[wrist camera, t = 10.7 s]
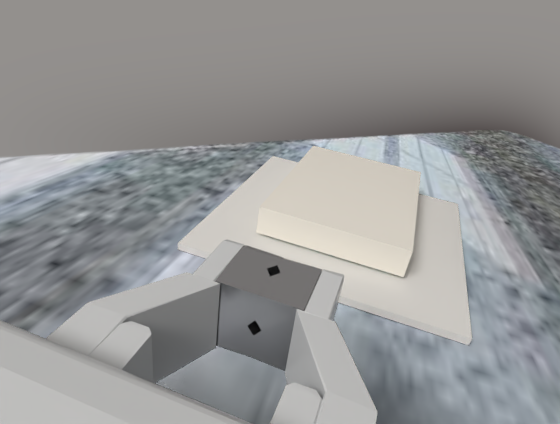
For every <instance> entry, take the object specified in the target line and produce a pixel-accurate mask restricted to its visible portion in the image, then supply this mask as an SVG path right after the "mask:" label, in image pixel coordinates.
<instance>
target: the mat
mask: <svg viewBox="0 0 560 424" xmlns="http://www.w3.org/2000/svg"><path fill="white" fill-rule="evenodd" d="M297 164H298V162H294V161H290V160H286V159H282V158H278V157H274V156H273V157H271V158H270V159H269V160H268V161H267V162H266V163H265V164H264V165H263V166H262V167H261V168H259V169H258V170H257V171H256V172H255V173H254V174H253V175H252V176H251V177H250V178H249V179H247V180H246V181H245V182H244V183H243V184H242V185H241V186H240V187H239V188H238V189H236V190H235V191H234V192H233V193H232V194H231V195H230V196H229V197H228V198H227V199H226V200H224V201H223V202H222V203H221V204H220V205H219V206H218V207H217V208H216V209H215V210H214V211H212V212H211V213H210V214H209V215H208V216H207V217H206V218H205V219H204V220H203V221H202V222H200V223H199V224H198V225H197V226H196V227H195V228H194V229H193V230H192V231H191V232H189V233H188V234H187V235H186V236H185V237H184V238H183V239H182V240H181V241H180V242H179V243H178V250H181V251H184V252H187V253H190V254H193V255H196V256H199V257H202V258H205V259H207V258H208V257H209V255H210V254H211V253H212V252H213V251H214V250H215V249H216V248H217V247H218V246H219V244H220V243H221V242H222V241H224V240H227V239H228V240H231V241H234V242H238V243H241V244H244V245H247V246H250V247H253V248H256V249H260V250H263V251H266V252H269V253H272V254H275V255H278V256H281V257H284V258H286V259H289V260H293V261H296V262H299V263H303V264H306V265H309V266H313V267H316V268H320V269H325V270H329V271H333V272H336V273H340V274H344V282H343V286H342V290H341V294H340V297H339V301H338V302H339V303H342V304H345V305H348V306H351V307H354V308H357V309H360V310H363V311H366V312H369V313H372V314H375V315H378V316H381V317H384V318H387V319H390V320H393V321H396V322H399V323H402V324H405V325H408V326H411V327H414V328H418V329H421V330H424V331H427V332H430V333H433V334H436V335H439V336H442V337H445V338H448V339H451V340H454V341H457V342H460V343H463V344H466V345H469V344H470V342H471V340H472V334H471V324H470V315H469V305H468V296H467V286H466V277H465V267H464V258H463V248H462V239H461V229H460V219H459V210H458V204H456V203H452V202H448V201H444V200H441V199H437V198H433V197H429V196H425V195H421V194H419V195H418V205H417V215H416V225H415V235H414V245H413V252H412V255H411V258H410V261H409V264H408V266H407V269H406V272H405V275H404V277H401V276H398V275H394V274H391V273H388V272H385V271H381V270H378V269H375V268H372V267H368V266H365V265H362V264H358V263H355V262H352V261H349V260H345V259H342V258H339V257H335V256H332V255H329V254H326V253H322V252H319V251H316V250H312V249H309V248H306V247H303V246H299V245H296V244H293V243H290V242H286V241H283V240H280V239H276V238H273V237H270V236H267V235H263V234H260V233H257V232H256V230H257V222H258V214H259V207H260V206H261V204H262V203H263V202H264V201H265V200H266V199H267V198H268V197H269V195H270V194H271V193H272V192H273V191H274V190H275V189H276V187H277V186H278V185H279V184H280V183H281V182H282V181H283V180H284V178H285V177H286V176H287V175H288V174H289V173H290V172H291V171H292V169H293V168H294V167H295V166H296V165H297Z"/></svg>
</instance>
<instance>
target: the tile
mask: <svg viewBox="0 0 560 424" xmlns="http://www.w3.org/2000/svg"><path fill="white" fill-rule="evenodd" d="M420 174H421V172H418V171H414V170H409V169H405V168H401V167H397V166H393V165H389V164H385V163H381V162H377V161H373V160H369V159H365V158H361V157H357V156H353V155H349V154H345V153H341V152H337V151H333V150H329V149H324V148H320V147H316V146H313V147H312V148H311V149H310V150H309V151H308V152H307V154H306V155H305V156H304V157H303V158H302V159H301V160H300V162H299V163H298V164H297V165H296V166H295V167H294V168H293V169H292V171H291V172H290V173H289V174H288V175H287V176H286V177H285V178H284V180H283V181H282V182H281V183H280V184H279V185H278V186H277V187H276V189H275V190H274V191H273V192H272V193H271V194H270V195H269V197H268V198H267V199H266V200H265V201H264V202H263V203H262V204H261V206H260V207H259V214H258V222H257V230H256V232H257V233H260V234H263V235H267V236H270V237H273V238H276V239H280V240H283V241H286V242H290V243H293V244H296V245H299V246H303V247H306V248H309V249H312V250H316V251H319V252H322V253H326V254H329V255H332V256H335V257H339V258H342V259H345V260H349V261H352V262H355V263H358V264H362V265H365V266H368V267H372V268H375V269H378V270H381V271H385V272H388V273H391V274H394V275H398V276H401V277H404V275H405V272H406V269H407V266H408V264H409V261H410V258H411V255H412V252H413V245H414V235H415V225H416V215H417V205H418V195H419V185H420Z"/></svg>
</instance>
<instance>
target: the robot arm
mask: <svg viewBox="0 0 560 424" xmlns="http://www.w3.org/2000/svg"><path fill="white" fill-rule="evenodd" d="M343 282H344V274H340V273H336V272H333V271H329V270H325V269H320V268H316V267H313V266H309V265H306V264H303V263H299V262H296V261H293V260H289V259H286V258H284V257H281V256H278V255H275V254H272V253H269V252H266V251H263V250H260V249H256V248H253V247H250V246H247V245H244V244H241V243H238V242H234V241H231V240H228V239H227V240H224V241H222V242H221V243H220V244H219V246H218V247H217V248H216V249H215V250H214V251H213V252H212V253H211V254H210V255H209V257H208V258H207V259H206V260H205V261H204V262H203V263H202V264H201V265H200V266H199V268H198V269H197V270H196V271H195V272H194V273H193V274H190V273H183V274H180V275H177V276H173V277H170V278H167V279H164V280H160V281H157V282H154V283H150V284H147V285H144V286H141V287H137V288H134V289H131V290H127V291H124V292H121V293H118V294H114V295H111V296H108V297H105V298H101V299H98V300H95V301H91V302H88V303H87V304H86V305H84V306H83V307H82V308H81V309H80V310H79V311H77V312H76V313H75V314H74V315H73V316H72V317H70V318H69V319H68V320H67V321H66V322H64V323H63V324H62V325H61V326H60V327H59V328H57V329H56V330H55V331H54V332H53V333H52V334H50V335H49V336H48V337H47V338H46V339H45V338H43V337H40V336H38V335H35V334H33V333H30V332H28V331H25V330H23V329H21V328H18V327H16V326H13V325H11V324H8V323H6V322H3V321H1V320H0V424H253V423H250V422H248V421H245V420H243V419H240V418H238V417H235V416H233V415H231V414H228V413H226V412H223V411H221V410H218V409H216V408H213V407H211V406H209V405H206V404H204V403H201V402H199V401H196V400H194V399H191V398H189V397H187V396H184V395H182V394H179V393H177V392H174V391H172V390H170V389H167V388H165V387H162V386H160V385H157V384H155V383H156V382H158V381H159V380H161V379H163V378H165V377H166V376H168V375H170V374H171V373H173V372H175V371H177V370H178V369H180V368H182V367H184V366H185V365H187V364H189V363H190V362H192V361H194V360H196V359H197V358H199V357H201V356H202V355H204V354H206V353H208V352H209V351H211V350H213V349H215V348H216V346H219V347H222V348H224V349H227V350H230V351H233V352H236V353H239V354H242V355H245V356H248V357H251V358H253V359H256V360H258V361H261V362H263V363H266V364H268V365H271V366H273V367H276V368H278V369H281V370H283V371H285V376H286V381H287V385H286V386H285V389H284V391H283V394H282V396H281V398H280V401H279V403H278V405H277V408H276V410H275V413H274V415H273V417H272V420H271V422H270V424H376V419H377V410H376V407H375V405H374V403H373V401H372V399H371V397H370V395H369V392H368V390H367V388H366V386H365V384H364V382H363V379H362V377H361V375H360V373H359V371H358V369H357V367H356V364H355V362H354V360H353V358H352V356H351V354H350V351H349V349H348V347H347V345H346V343H345V341H344V339H343V336H342V334H341V332H340V330H339V328H338V326H337V323H336V322H335V321H334V317H335V313H336V309H337V305H338V301H339V297H340V294H341V290H342V286H343Z"/></svg>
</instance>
